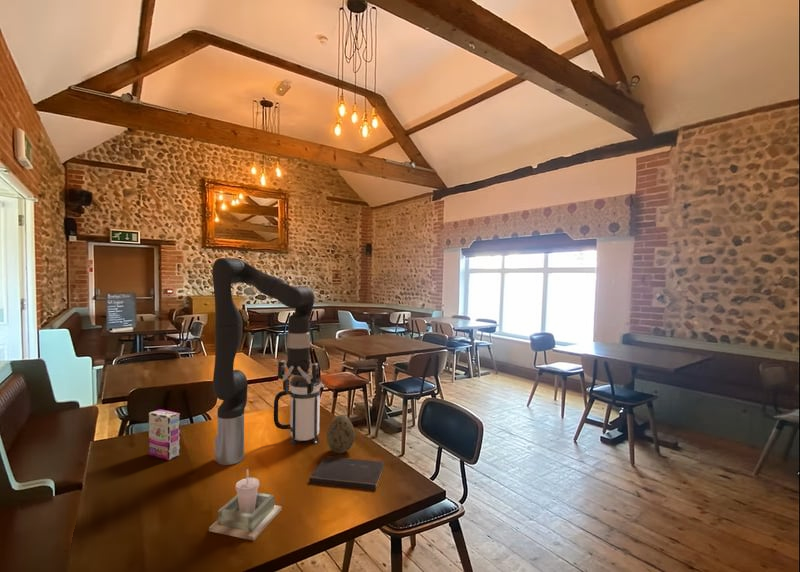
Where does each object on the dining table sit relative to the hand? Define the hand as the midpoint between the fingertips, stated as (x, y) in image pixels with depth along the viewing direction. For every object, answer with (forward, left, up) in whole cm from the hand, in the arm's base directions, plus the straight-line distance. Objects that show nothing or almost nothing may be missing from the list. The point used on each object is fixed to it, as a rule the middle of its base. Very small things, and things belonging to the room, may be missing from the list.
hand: (298, 392), depth 135 cm
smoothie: (-3, -24, -29) cm, 38 cm away
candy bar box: (-56, +1, -30) cm, 64 cm away
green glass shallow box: (-3, -24, -30) cm, 39 cm away
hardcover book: (+16, +7, -31) cm, 36 cm away
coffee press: (-13, +28, -30) cm, 43 cm away
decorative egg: (+7, +22, -30) cm, 38 cm away
